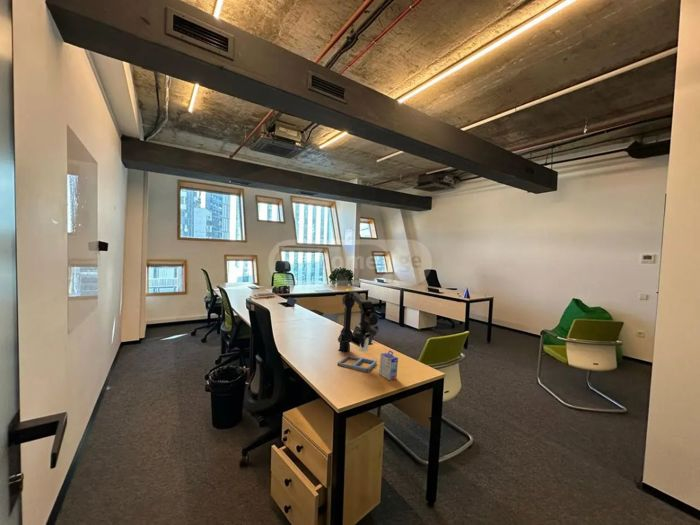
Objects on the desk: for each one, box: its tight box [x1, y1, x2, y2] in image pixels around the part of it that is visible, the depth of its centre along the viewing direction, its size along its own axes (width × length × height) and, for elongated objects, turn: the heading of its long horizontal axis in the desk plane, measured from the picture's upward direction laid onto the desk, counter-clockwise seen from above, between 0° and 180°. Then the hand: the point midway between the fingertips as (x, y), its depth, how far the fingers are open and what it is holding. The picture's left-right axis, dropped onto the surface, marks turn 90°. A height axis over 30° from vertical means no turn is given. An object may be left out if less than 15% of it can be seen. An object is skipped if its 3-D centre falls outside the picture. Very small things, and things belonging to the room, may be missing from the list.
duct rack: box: [337, 354, 378, 373], centre depth 182 cm, size 20×15×2 cm
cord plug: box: [359, 337, 370, 353], centre depth 179 cm, size 4×4×8 cm
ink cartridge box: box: [378, 350, 399, 381], centre depth 167 cm, size 10×6×14 cm, turn 33°
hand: (364, 346), depth 179 cm, fingers closed on cord plug, 4 cm apart
